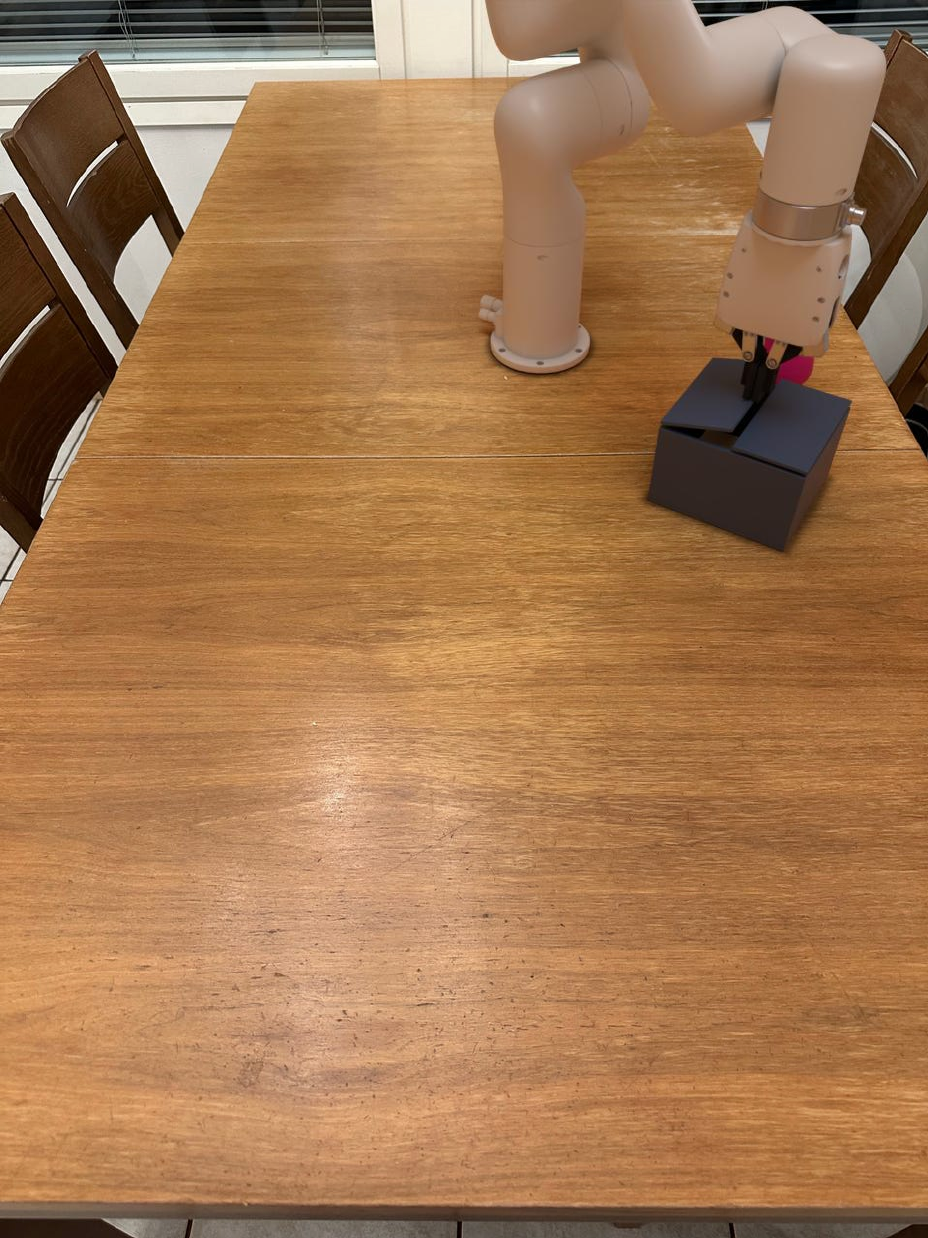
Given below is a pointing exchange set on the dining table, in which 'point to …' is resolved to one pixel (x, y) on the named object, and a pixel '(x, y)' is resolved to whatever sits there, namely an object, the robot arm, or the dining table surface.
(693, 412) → the flap
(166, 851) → the dining table surface
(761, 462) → the carton
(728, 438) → the block
